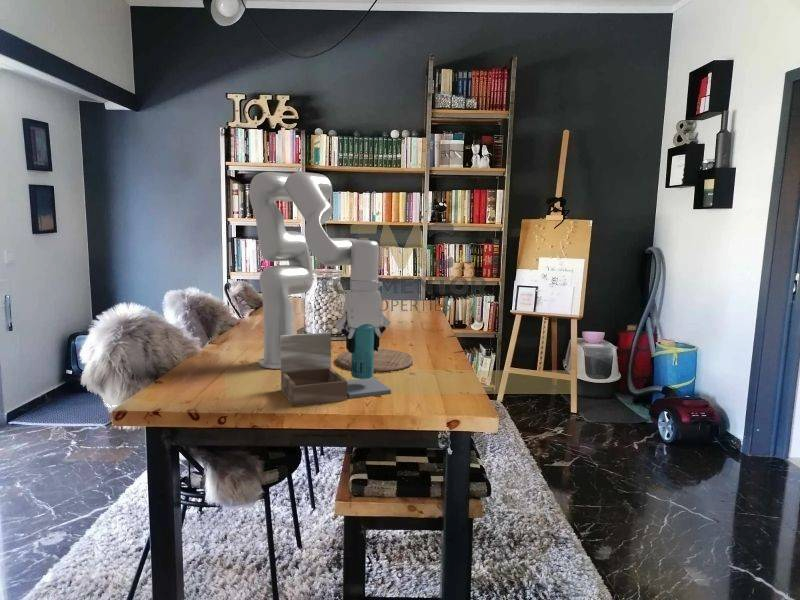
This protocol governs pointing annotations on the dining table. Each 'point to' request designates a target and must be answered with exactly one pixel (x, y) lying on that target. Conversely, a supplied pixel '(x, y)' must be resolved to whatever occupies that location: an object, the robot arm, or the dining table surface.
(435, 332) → the dining table surface
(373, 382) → the slate mat
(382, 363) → the trivet
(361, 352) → the beverage bottle
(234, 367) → the dining table surface
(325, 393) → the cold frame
